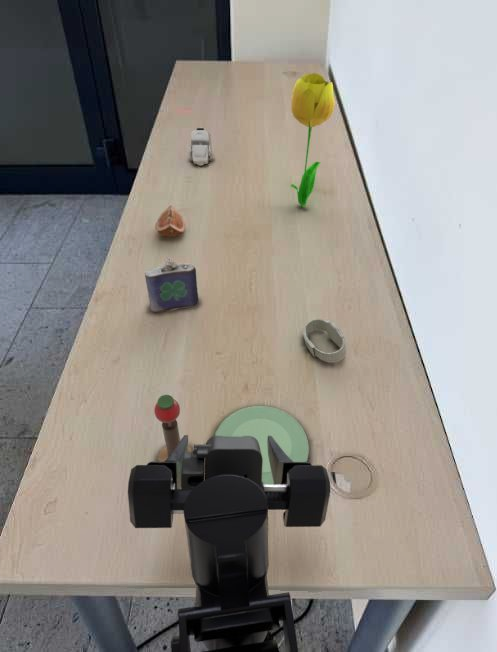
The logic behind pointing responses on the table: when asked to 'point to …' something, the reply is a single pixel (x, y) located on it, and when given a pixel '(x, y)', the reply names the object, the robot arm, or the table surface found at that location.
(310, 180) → the flower
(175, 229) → the fruit slice
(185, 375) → the table surface
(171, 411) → the strawberry fork
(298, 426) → the plate
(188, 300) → the flask
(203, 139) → the white toy car
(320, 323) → the wristwatch
